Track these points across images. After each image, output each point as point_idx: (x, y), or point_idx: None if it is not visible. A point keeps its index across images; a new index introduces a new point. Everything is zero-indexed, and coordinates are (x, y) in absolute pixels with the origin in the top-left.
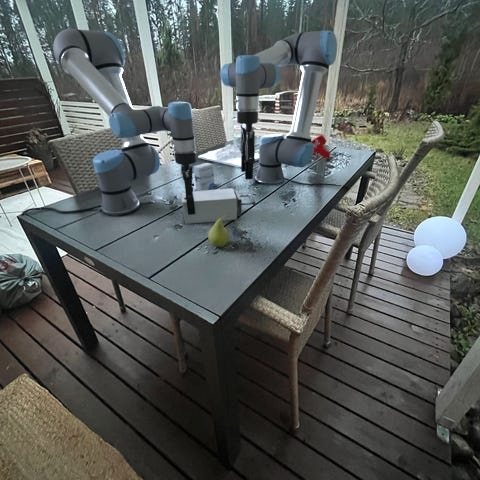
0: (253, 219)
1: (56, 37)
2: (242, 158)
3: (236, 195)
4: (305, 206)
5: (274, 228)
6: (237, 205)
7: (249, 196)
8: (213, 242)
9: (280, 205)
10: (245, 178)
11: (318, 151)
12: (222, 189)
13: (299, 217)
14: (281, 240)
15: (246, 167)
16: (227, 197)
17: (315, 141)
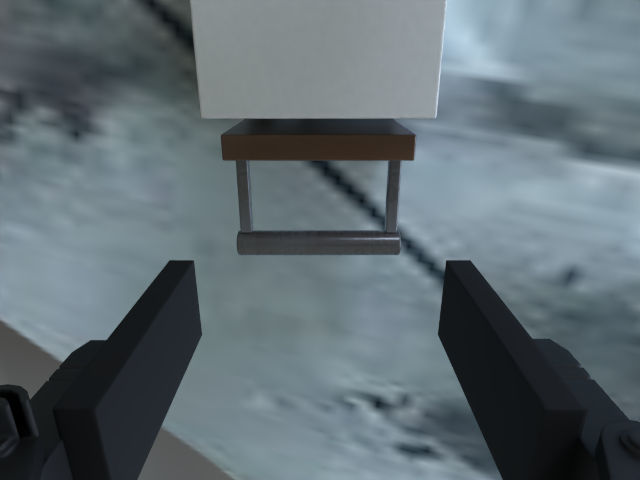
0: (227, 204)
1: None
2: (516, 381)
3: (325, 134)
4: (334, 475)
5: (119, 287)
6: (281, 125)
7: (354, 236)
8: None
9: (373, 378)
10: (182, 263)
11: None
12: (434, 7)
13: (224, 420)
14: (3, 289)
15: (104, 354)
16: (225, 33)
17: None
